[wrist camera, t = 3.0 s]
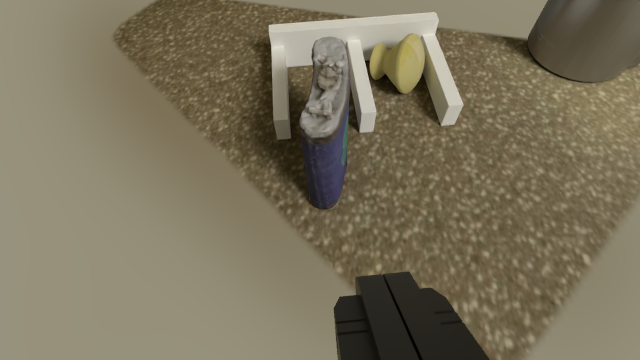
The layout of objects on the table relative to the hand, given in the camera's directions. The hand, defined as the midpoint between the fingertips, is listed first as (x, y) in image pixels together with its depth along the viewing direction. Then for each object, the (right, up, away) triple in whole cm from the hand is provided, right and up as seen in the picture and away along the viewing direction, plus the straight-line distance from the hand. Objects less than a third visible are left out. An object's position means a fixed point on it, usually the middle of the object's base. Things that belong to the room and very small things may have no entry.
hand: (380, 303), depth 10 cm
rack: (+2, +12, +24) cm, 27 cm away
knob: (+5, +13, +25) cm, 28 cm away
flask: (-1, +5, +20) cm, 20 cm away
